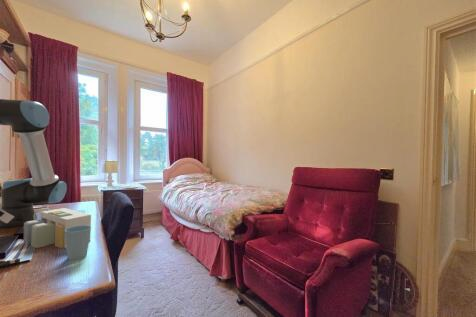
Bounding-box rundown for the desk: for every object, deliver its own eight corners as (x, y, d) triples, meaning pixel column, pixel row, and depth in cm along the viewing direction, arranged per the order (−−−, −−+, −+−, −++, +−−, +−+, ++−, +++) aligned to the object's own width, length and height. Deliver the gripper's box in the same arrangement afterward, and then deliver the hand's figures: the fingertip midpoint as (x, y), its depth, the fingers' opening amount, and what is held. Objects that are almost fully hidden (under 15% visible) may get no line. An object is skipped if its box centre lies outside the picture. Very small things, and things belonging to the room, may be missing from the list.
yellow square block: (60, 248, 86) (60, 226, 86) (55, 246, 87) (55, 224, 87) (82, 241, 93) (83, 221, 93) (77, 239, 94) (78, 220, 94)
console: (65, 248, 86) (66, 218, 86) (40, 237, 96) (40, 210, 96) (90, 241, 94) (91, 213, 94) (64, 232, 104) (64, 207, 104)
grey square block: (27, 244, 88) (28, 223, 88) (23, 242, 90) (24, 221, 90) (51, 238, 95) (52, 218, 95) (47, 236, 97) (48, 217, 97)
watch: (56, 230, 106) (56, 207, 106) (33, 234, 100) (34, 210, 100) (53, 228, 110) (54, 206, 110) (31, 231, 103) (32, 208, 103)
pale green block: (35, 248, 85) (36, 226, 85) (31, 246, 87) (31, 224, 87) (60, 241, 92) (60, 221, 92) (55, 239, 94) (56, 220, 94)
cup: (71, 264, 74) (72, 233, 74) (59, 259, 77) (60, 229, 77) (94, 255, 81) (95, 227, 81) (82, 251, 84) (83, 224, 84)
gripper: (-92, 183, 63) (-8, 226, 78) (-82, 187, 57) (6, 232, 72) (-61, 164, 68) (12, 208, 83) (-49, 166, 62) (28, 213, 77)
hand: (9, 219), depth 77 cm, fingers closed
